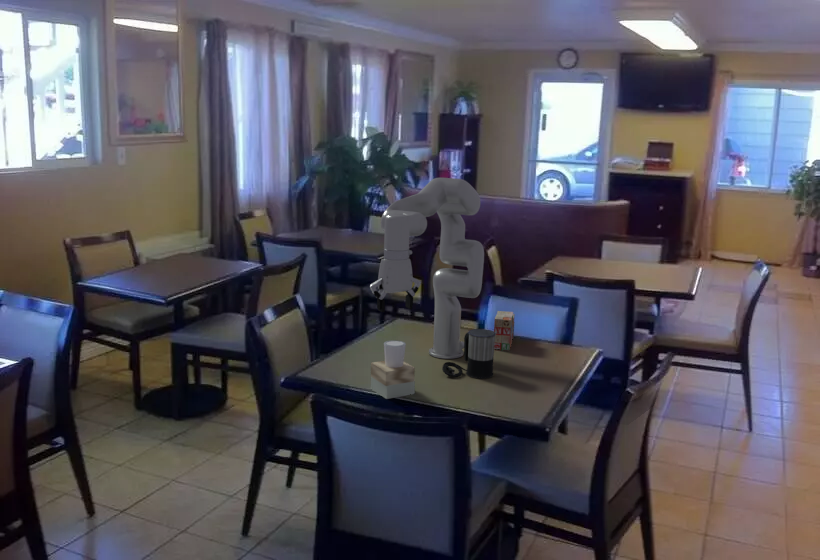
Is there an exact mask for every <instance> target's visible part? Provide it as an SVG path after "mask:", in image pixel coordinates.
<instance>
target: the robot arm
mask: <svg viewBox="0 0 820 560" xmlns="http://www.w3.org/2000/svg"><path fill="white" fill-rule="evenodd" d="M480 207H481V197H480V194H479V193H478V191H477V190H476V189H475V188H474V187H473V186H472V185H471V184H470V183H469V182H468V181H467V180H465V179H462V178H456V177H455V178H452V177H449V178H448V177H435V178H433V179H431V180H430V181H429V182H428V183H427V184H426V185H425V186H424V187H423V188H422V189H421V190H420V191H419V192H418V193H416V194H412V195H410V196H406V197H403V198H401V199H397V200H396V201H394V202H392V203H391V204H390V205H389V206H388V207H387V208H386V209H385V211H384V212H383V213H382V216H381V218H380V227H381V229H382V231H384V238H383V239H384V240H383V241H384V242H383V243H384V244H383V258H381V260H380V264H379V268H378V269H379V270H378V277H377V280H375V281H374V282H372V283H371V284H370V285H369V288H370V291H371V293H372V295H373V296H374V297H375V298H376V299H377V301H376V302H377V303H376V309H377V311H379V312H381V313H385V312H386V311H385V310H386V304H385V303H386V299H384V298H385V297H386V295H387V294H391V293H392V294H393V293H402V292H403V293H404V292H406V294H405V308H407V309H409V310H412V309H413V305H414V297H415V296H416V293H417V292H418V291H419V289H420V286H421V283H422V281H421V280H419V279H418V278H415V277H413V267H412V260H411V259H410V255H412V254H413V251H412V249H411V250H410V237H418V236H421V235H422V234H424V233H425V232H426V230H427V227H428V220H427V217H428V218H429V217H432V216H434V215H435V214H437V215H438V218H439V220H440V227H441V229H440V239H439V240H440V241H439V260H440V261H441V262H442V263H443V264H446V265H449V266H459V267H466V268H467V270H465V269H458V268H451V267H450V268H448V267H447V268H445V267H443V268H439V269H438V270H436V271H435V272H434V274H433V276H432V286H433V293H434V315H433V318H434V322H433V323H434V324H433V342H432V343H433V346H432V347H431V348H429V349H428V354H429V355H430V356H432V357H433V358H438V359H446V360H447V359H448V360H449V359H451V360H453V359H458V358H461V357H464V350H463V349H464V340H463V341H462V340H461V323H462V322H461V319H462V318H461V317H462V306H461V304H460V300H459V299H458V297H461V298H467V299H468V298H469V299H470V298H471V299H475V298H477V297H478V296H479V295H480V294H481V291H482V287H483V285H482V284H483V275H484V263H485V249H484V246H483V244H482V243H481V242H480V241H478V240H475V239H466V237H465V236H466V223H465V220H464V219H463V217H462V215H463V216H475V215H476V214H478V212H479V210H480ZM413 283H414V285H413Z"/></svg>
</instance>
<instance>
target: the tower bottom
mask: <svg viewBox="0 0 820 560" xmlns="http://www.w3.org/2000/svg"><path fill="white" fill-rule="evenodd" d="M415 384H416V381H415V380H414V382H407V383H401V384H395V385H389V386H385V385H383V384H382V383H380V382H379V381H377V380H376V379H374V378H373V377H371V376H370V390H371V389H372V390H371V391H372V392H374V393H377V394H378V395H380V396H382V397H383V398H384V399H386V400H388V399H394V398H399V397H405V396H411V395H415V389H416V387H415V386H416V385H415ZM410 394H411V395H410Z"/></svg>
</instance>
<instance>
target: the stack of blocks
mask: <svg viewBox="0 0 820 560" xmlns="http://www.w3.org/2000/svg"><path fill="white" fill-rule="evenodd" d="M515 316H516V315H515V313H514V311H503V310H497V312H496V315H495V317H494V323H493V324H494V325H493V327H494V329H493V331H494V332H495V333H496V335H495V344H494V349H500V350H499V351H503V350H509V351H511V348H510V347H512V345H511V344H512V342H513V340H514V337H513V336H515ZM512 339H513V340H512Z"/></svg>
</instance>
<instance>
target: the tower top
mask: <svg viewBox="0 0 820 560" xmlns="http://www.w3.org/2000/svg"><path fill="white" fill-rule="evenodd" d="M415 369H416V368H415V366H413V365H411V364H409V363H408V362H406V361H404V362H403V366H402V367H397V368H392V367H387V366H386V365H385V360H379V361H373V362H371V363H370V378H371V377H373V378H374V379H376V380H377V381H379V382H380V383H382V384H383V385H385V386H389V385H395V384H401V383H407V382H414V381H415V372H416V371H415Z"/></svg>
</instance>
